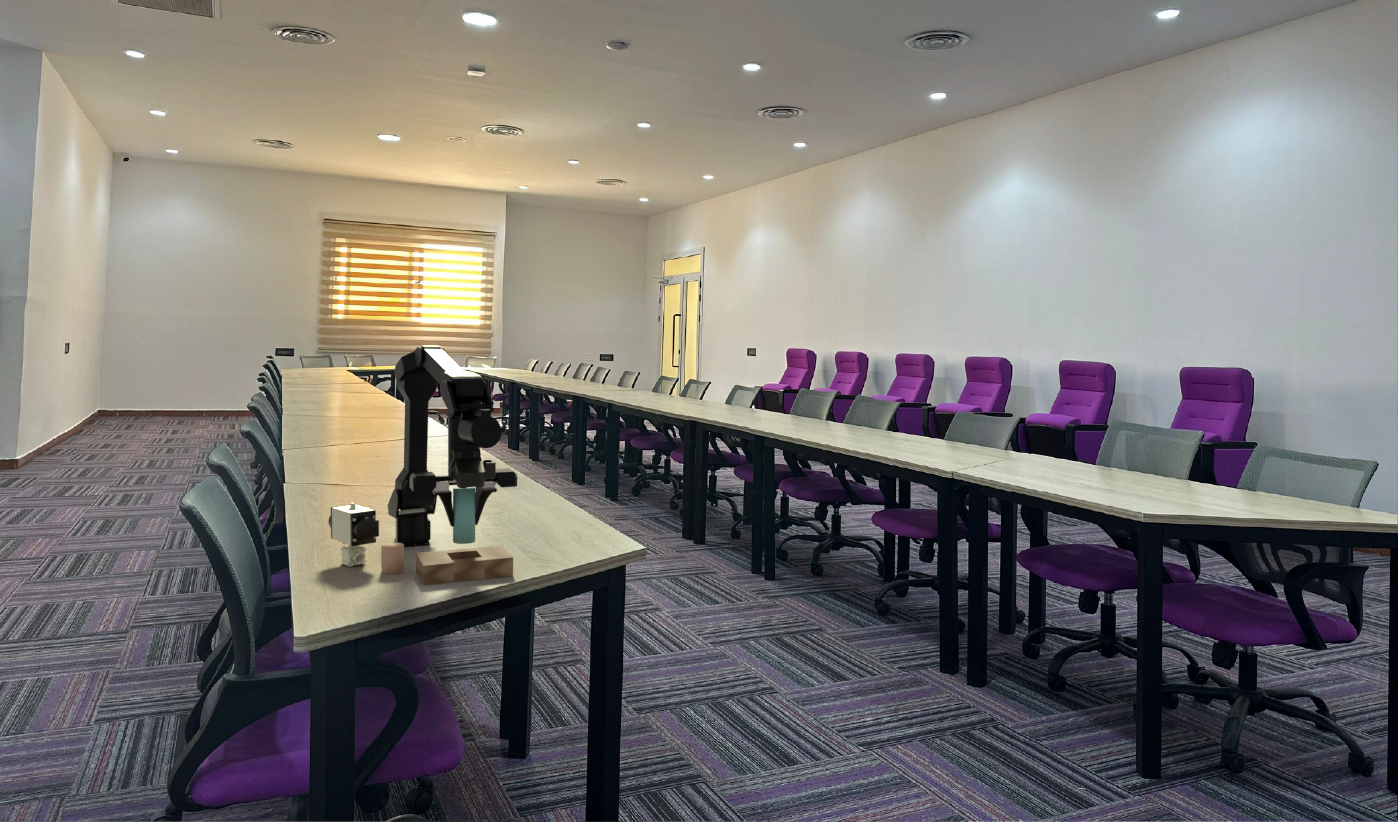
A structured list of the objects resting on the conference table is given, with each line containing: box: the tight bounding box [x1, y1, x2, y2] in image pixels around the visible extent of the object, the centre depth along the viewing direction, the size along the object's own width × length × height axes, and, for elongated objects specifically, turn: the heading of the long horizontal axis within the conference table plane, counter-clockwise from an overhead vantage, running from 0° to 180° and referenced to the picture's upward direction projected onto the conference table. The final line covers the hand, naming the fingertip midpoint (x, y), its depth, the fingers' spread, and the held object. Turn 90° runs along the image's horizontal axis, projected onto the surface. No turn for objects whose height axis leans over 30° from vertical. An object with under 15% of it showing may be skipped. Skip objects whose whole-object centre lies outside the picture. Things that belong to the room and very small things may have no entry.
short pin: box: [380, 542, 405, 575], centre depth 155 cm, size 4×4×5 cm
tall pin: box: [452, 486, 476, 545], centre depth 154 cm, size 4×4×10 cm
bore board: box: [415, 545, 514, 586], centre depth 154 cm, size 16×10×4 cm, turn 116°
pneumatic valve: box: [328, 502, 380, 568], centre depth 159 cm, size 6×12×12 cm, turn 48°
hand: (464, 525), depth 154 cm, fingers closed on tall pin, 4 cm apart
